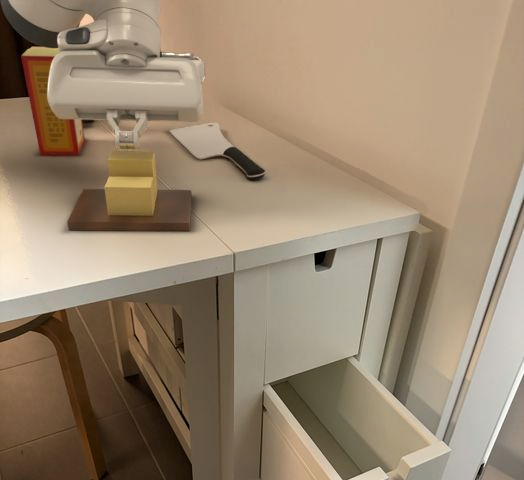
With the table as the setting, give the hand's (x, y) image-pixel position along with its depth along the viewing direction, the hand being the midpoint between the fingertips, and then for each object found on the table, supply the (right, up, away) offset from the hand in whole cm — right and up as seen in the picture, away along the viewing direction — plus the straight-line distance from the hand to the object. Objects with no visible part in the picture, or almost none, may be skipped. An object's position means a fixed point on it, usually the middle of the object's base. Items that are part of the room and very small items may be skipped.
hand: (127, 147), depth 73 cm
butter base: (-1, -4, +8) cm, 9 cm away
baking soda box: (-19, +10, +29) cm, 36 cm away
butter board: (-1, -7, +6) cm, 9 cm away
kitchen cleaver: (+9, +10, +30) cm, 32 cm away
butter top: (0, -5, +4) cm, 6 cm away
